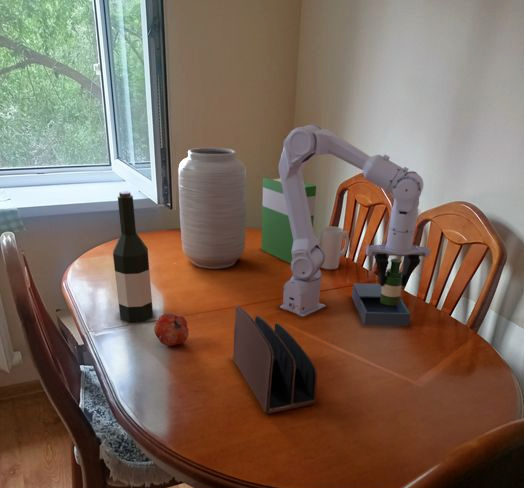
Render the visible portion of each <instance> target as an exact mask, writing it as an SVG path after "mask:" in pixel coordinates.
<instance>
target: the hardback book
mask: <svg viewBox="0 0 524 488" xmlns="http://www.w3.org/2000/svg"><path fill="white" fill-rule="evenodd" d="M278 177H279V178H268V177H263V178H262V205H261V206H262V209H261V241H260V243H261V244H260V249H261V250H262V251H264V252H266V253H267V254H270V255H272V256H274V257H276V258H278V259H280V260H282V261H284V262H286V263H288V264H289V265H291V262H292V253H291V251H292V246H293V236H292V231H291V227H290V222H289V217H288V212H287V207H286V203H285V198H284V193H283V188H282V184H281V179H280V175H279V176H278ZM304 186H305V191H306V196H307V201H308V206H309V211H310V217H311V222H312V227H313V228H314V220H315V207H316V197H317V196H316V193H317V185H314V184H311V183H308V182H304Z"/></svg>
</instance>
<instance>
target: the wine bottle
mask: <svg viewBox="0 0 524 488" xmlns="http://www.w3.org/2000/svg"><path fill="white" fill-rule="evenodd" d="M118 194H119V195H117V202H118V203H117V204H118V213H119V225H120V232H121V233H120V236H119V238H118V240H117V242H116V244H115V246H114V248H113V251H112V258H113V266H114V276H115V283H116V291H117V300H118V308H119V309H118V310H119V318H120V320H121V321H124V322H127V323H128V324H129V323H130V324H133V323H134V324H135V323H145V322H146V321H149V320H150V319H153V318H154V312H153V311H154V309H153V298H152V297H153V296H152V286H151V273H150V261H149V259H150V258H149V249H148V248H149V247H147V245H146V244H145V243H144V240H142V238H141V237H140V236H139V234H138V233H137V227H136V218H135V217H136V216H135V207H134V196H133V195H131V194H132V193H131V191H125V190H124V191H119V192H118Z"/></svg>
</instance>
